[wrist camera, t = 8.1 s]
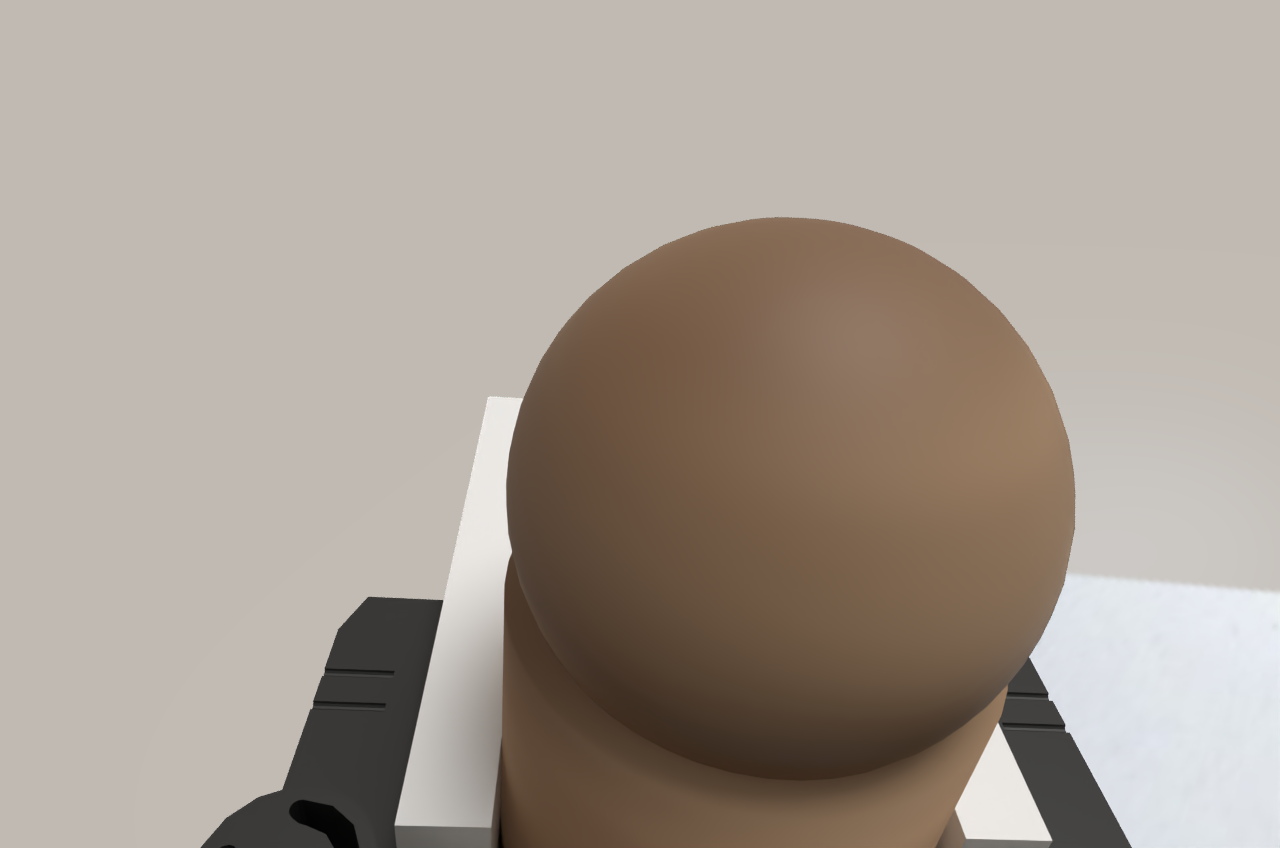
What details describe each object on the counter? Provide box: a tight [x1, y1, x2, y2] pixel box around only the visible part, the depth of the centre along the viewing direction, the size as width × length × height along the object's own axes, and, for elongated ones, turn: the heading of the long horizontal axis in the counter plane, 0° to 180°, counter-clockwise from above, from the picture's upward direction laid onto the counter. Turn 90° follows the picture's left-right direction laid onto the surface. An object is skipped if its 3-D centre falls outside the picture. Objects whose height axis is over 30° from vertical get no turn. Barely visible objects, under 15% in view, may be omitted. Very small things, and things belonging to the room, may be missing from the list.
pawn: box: [500, 217, 1075, 848], centre depth 9 cm, size 4×4×12 cm
